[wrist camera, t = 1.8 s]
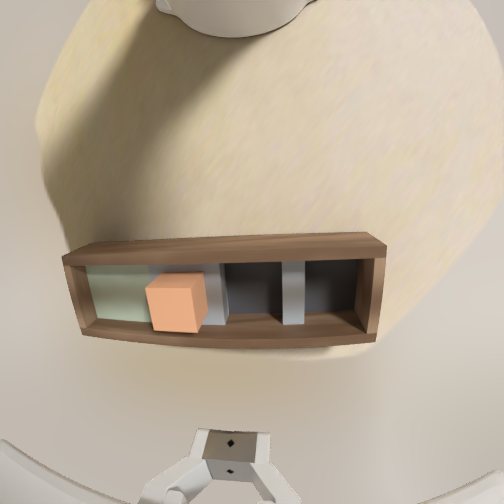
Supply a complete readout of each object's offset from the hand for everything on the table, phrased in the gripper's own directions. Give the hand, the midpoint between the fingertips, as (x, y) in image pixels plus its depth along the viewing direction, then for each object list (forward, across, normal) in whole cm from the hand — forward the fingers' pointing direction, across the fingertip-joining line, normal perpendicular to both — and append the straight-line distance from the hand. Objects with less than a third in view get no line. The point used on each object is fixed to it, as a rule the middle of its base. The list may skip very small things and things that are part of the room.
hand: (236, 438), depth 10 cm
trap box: (+19, +4, 0) cm, 20 cm away
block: (+16, +7, 0) cm, 18 cm away
